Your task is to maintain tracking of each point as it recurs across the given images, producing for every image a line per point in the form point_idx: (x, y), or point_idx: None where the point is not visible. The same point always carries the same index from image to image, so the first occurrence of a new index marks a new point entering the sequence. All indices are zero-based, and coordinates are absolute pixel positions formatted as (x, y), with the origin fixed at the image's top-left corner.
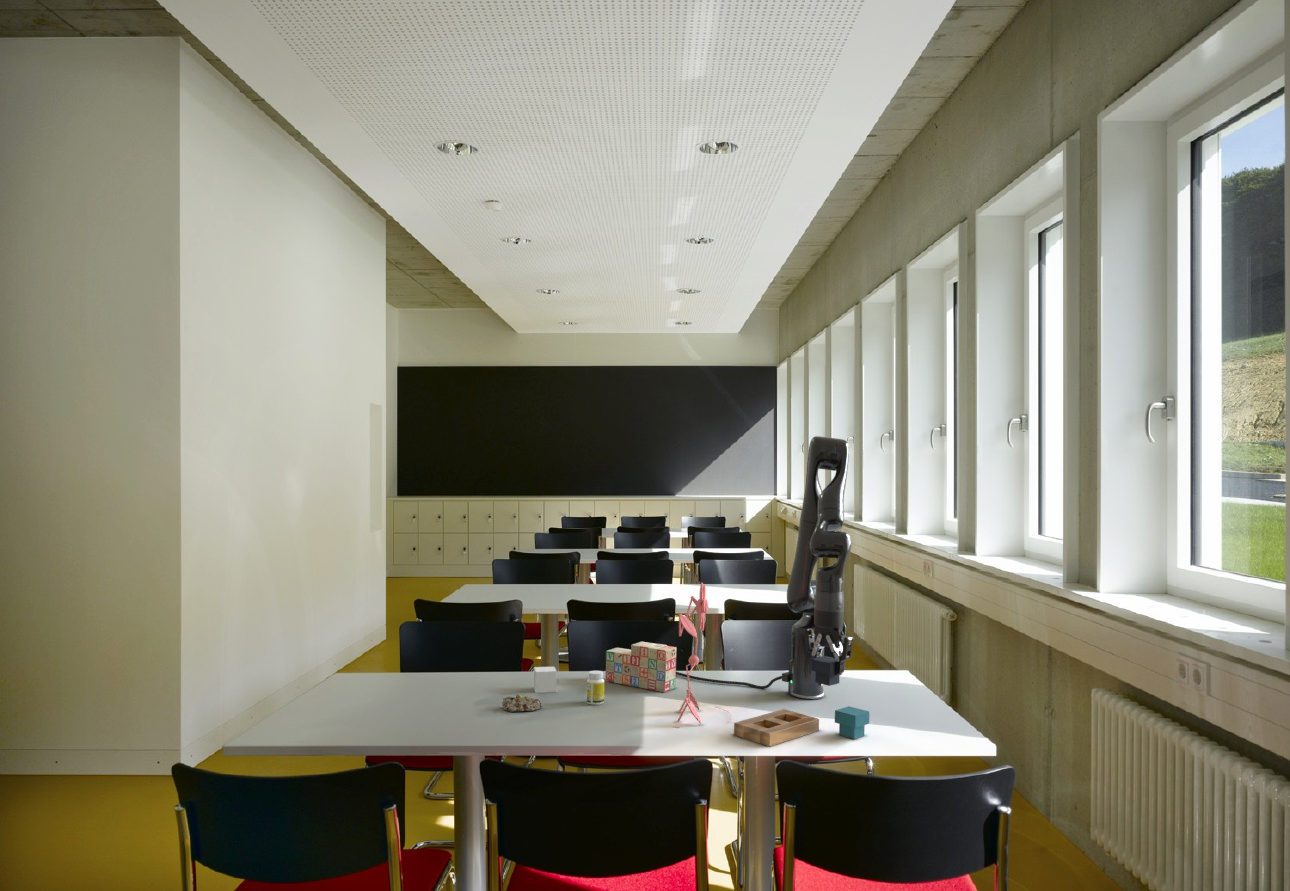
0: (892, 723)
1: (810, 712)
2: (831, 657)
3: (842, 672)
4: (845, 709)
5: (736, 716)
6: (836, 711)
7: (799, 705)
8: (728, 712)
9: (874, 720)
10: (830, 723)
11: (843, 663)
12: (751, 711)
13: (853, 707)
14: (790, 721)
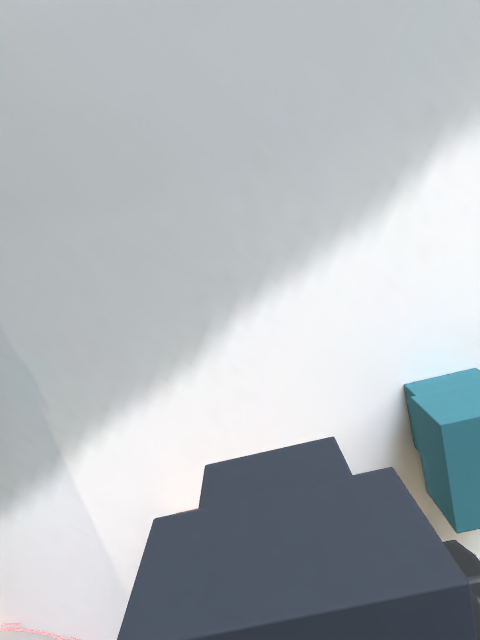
0: (417, 112)
1: (116, 353)
2: (232, 635)
3: (465, 553)
4: (476, 481)
5: (69, 616)
6: (465, 529)
7: (3, 327)
8: (32, 631)
9: (338, 163)
10: (282, 379)
11: (446, 558)
12: (28, 544)
13: (472, 419)
14: None
